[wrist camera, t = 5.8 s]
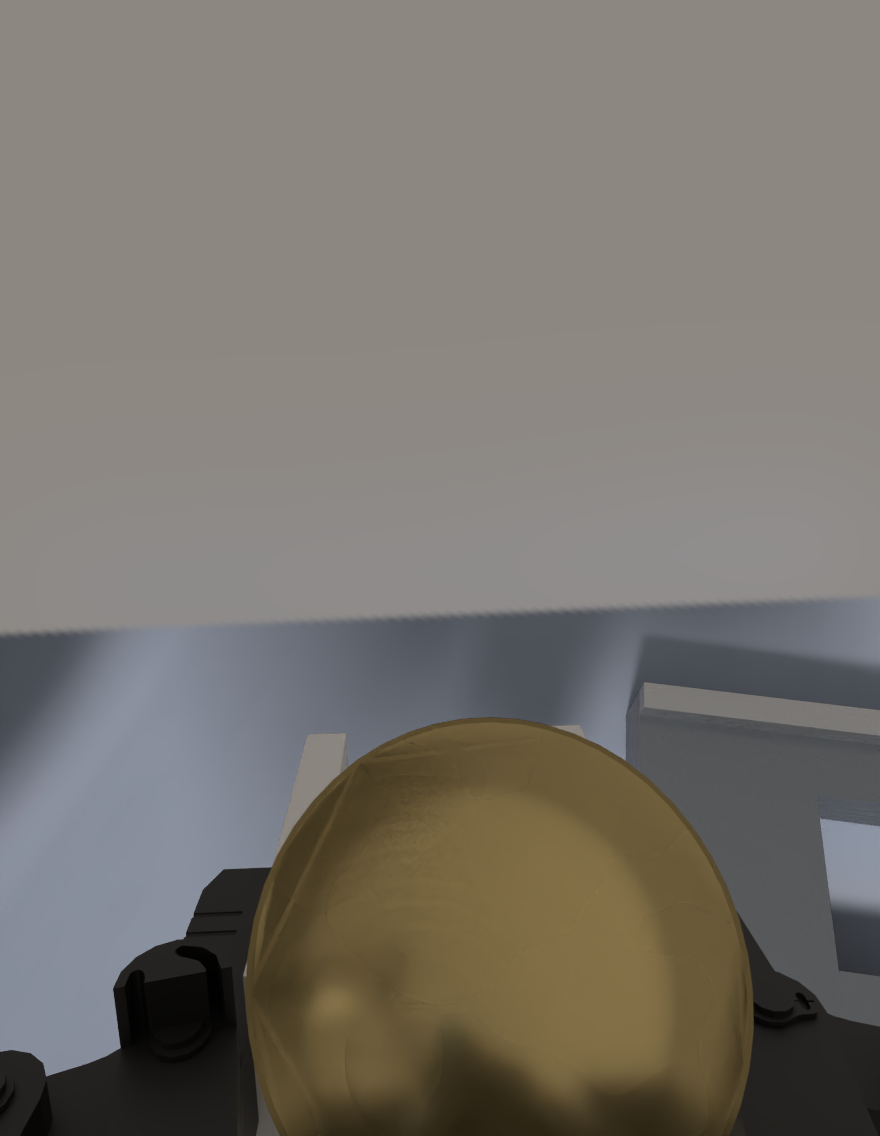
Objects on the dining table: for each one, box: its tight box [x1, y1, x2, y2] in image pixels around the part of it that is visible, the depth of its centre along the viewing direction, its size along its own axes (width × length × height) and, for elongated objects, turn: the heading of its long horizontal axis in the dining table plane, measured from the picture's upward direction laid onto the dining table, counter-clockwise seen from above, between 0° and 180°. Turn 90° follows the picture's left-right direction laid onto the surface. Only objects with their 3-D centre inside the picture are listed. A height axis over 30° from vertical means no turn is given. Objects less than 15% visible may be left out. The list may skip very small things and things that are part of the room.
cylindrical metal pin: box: [246, 717, 754, 1136], centre depth 12 cm, size 4×4×12 cm
